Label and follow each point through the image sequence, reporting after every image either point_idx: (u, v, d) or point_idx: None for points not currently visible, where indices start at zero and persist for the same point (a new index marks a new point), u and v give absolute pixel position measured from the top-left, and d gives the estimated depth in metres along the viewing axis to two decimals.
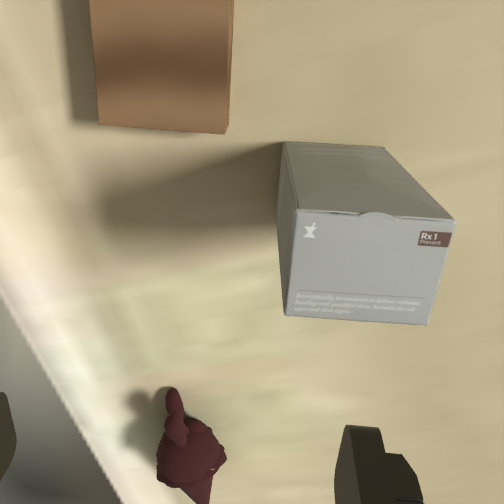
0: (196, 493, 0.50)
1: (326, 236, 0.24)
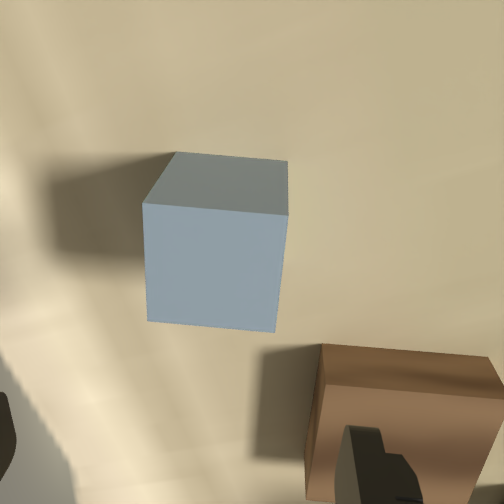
0: None
1: None
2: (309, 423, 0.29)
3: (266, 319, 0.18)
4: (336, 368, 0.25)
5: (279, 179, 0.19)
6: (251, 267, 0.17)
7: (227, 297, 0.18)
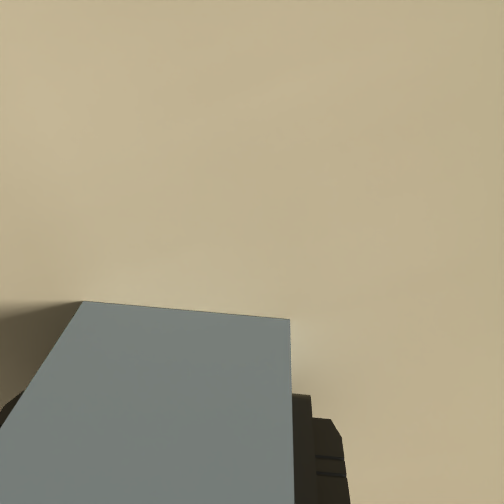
0: None
1: None
2: None
3: None
4: None
5: (274, 393, 0.09)
6: None
7: None
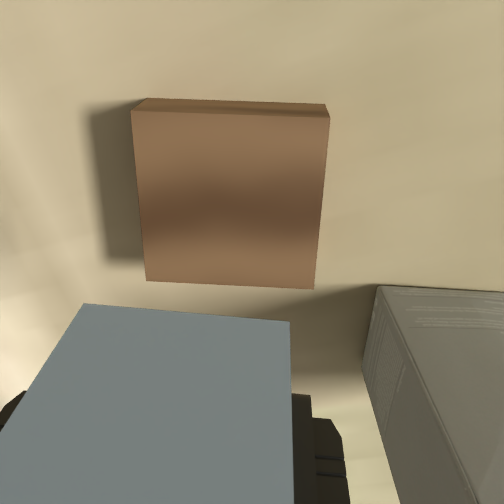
0: None
1: None
2: None
3: None
4: (150, 105, 0.23)
5: (274, 396, 0.09)
6: None
7: None
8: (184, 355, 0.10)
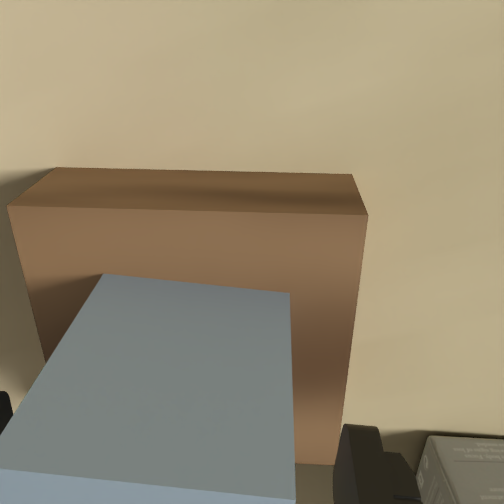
0: None
1: None
2: None
3: None
4: (51, 188, 0.13)
5: (276, 352, 0.11)
6: None
7: None
8: (196, 318, 0.12)
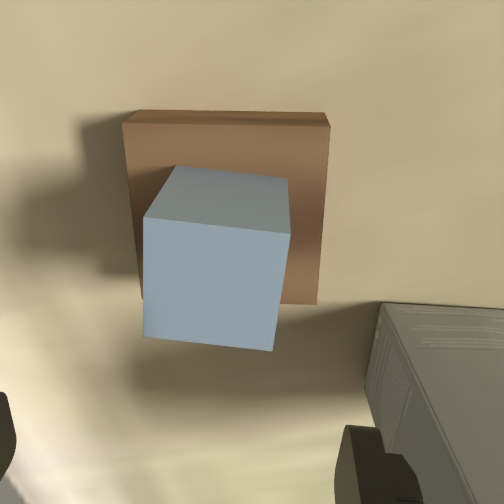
0: None
1: None
2: None
3: (264, 337, 0.18)
4: (143, 117, 0.22)
5: (280, 196, 0.19)
6: (251, 285, 0.17)
7: (225, 314, 0.18)
8: (234, 183, 0.20)
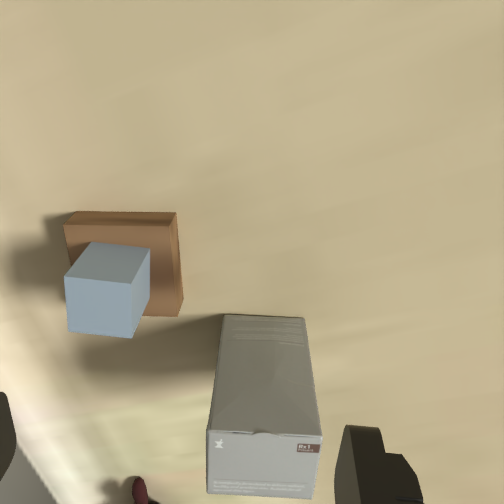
0: None
1: (230, 447, 0.33)
2: None
3: (126, 331, 0.38)
4: (75, 219, 0.41)
5: (138, 261, 0.39)
6: (117, 306, 0.37)
7: (106, 320, 0.37)
8: (118, 253, 0.40)
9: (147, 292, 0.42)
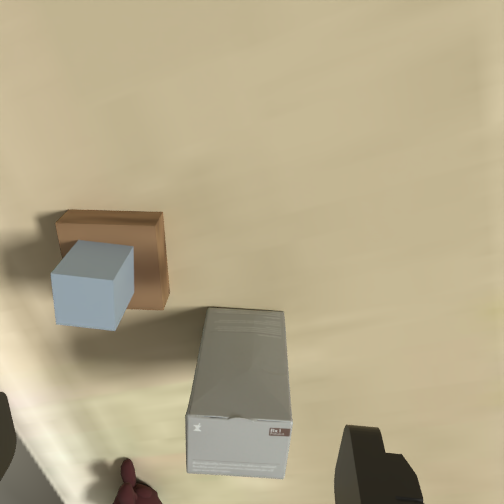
0: None
1: (208, 430, 0.36)
2: None
3: (110, 324, 0.40)
4: (67, 217, 0.44)
5: (121, 258, 0.41)
6: (100, 301, 0.39)
7: (91, 314, 0.40)
8: (103, 251, 0.42)
9: (131, 287, 0.45)
